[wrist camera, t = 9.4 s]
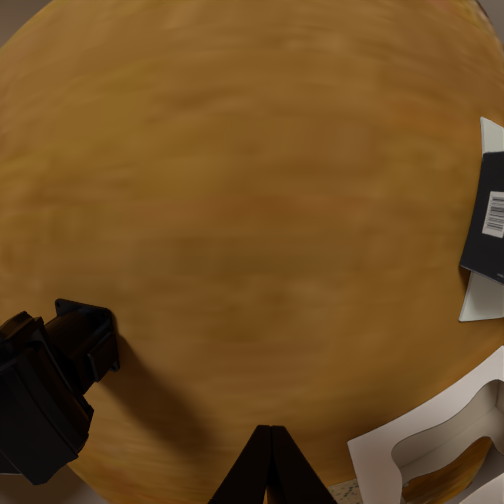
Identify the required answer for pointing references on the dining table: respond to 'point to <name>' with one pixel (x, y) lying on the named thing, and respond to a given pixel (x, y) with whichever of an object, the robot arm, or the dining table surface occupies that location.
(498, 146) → the mat
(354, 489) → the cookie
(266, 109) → the dining table surface
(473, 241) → the small box
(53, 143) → the dining table surface
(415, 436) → the gable box
